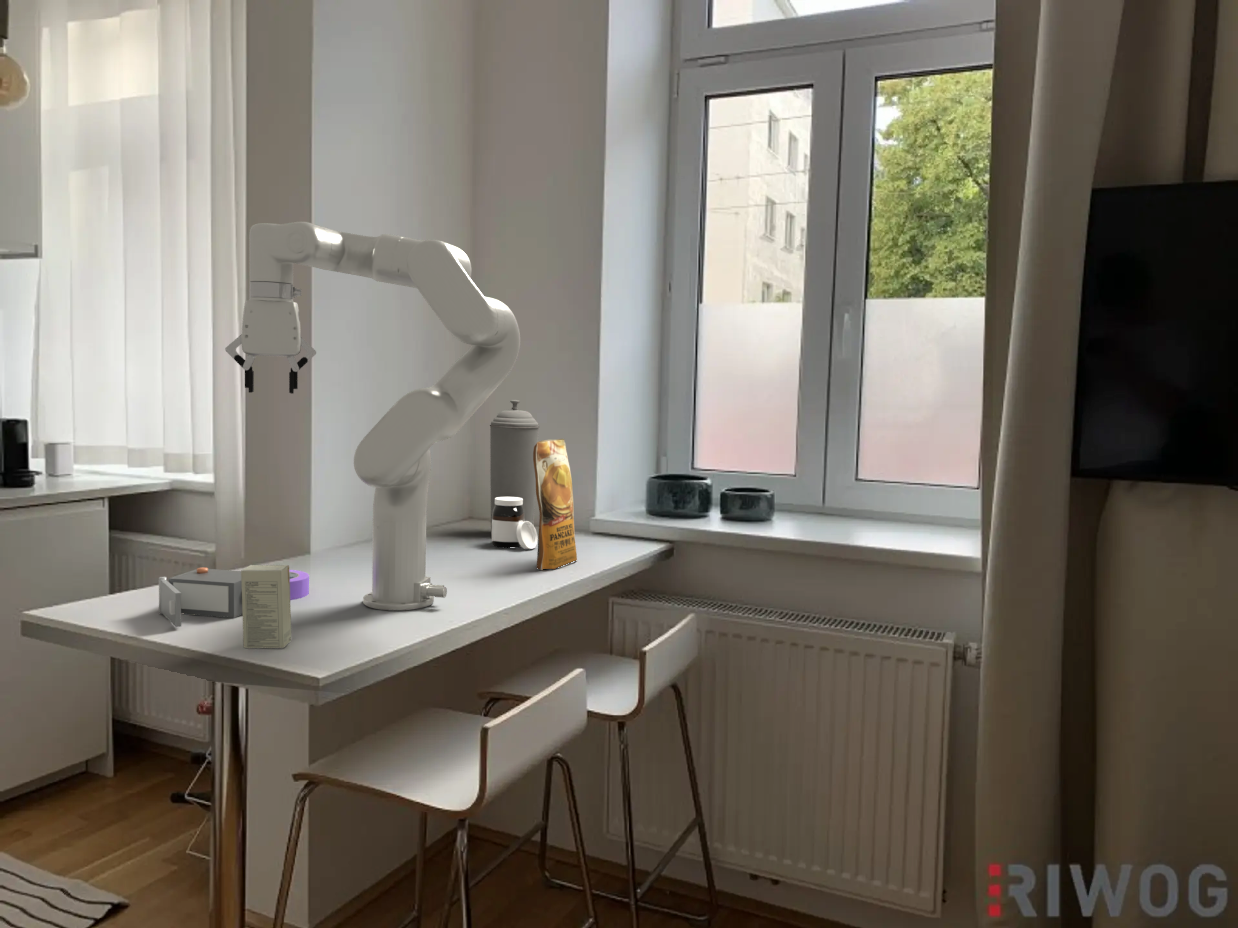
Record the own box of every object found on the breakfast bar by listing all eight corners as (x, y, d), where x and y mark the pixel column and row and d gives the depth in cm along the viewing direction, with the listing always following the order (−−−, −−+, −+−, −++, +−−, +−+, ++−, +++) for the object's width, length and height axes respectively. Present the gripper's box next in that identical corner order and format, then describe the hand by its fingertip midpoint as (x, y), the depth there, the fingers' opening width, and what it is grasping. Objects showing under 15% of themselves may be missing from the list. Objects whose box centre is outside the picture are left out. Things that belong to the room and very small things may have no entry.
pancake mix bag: (519, 569, 215) (522, 440, 212) (560, 555, 232) (563, 436, 229) (547, 573, 212) (550, 442, 209) (586, 559, 229) (590, 438, 227)
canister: (528, 540, 251) (532, 401, 248) (480, 537, 254) (483, 399, 250) (542, 532, 263) (545, 400, 260) (496, 529, 266) (499, 398, 263)
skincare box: (292, 641, 155) (292, 564, 154) (283, 649, 151) (283, 570, 150) (250, 640, 155) (250, 563, 154) (240, 648, 151) (240, 569, 149)
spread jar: (495, 541, 248) (496, 495, 247) (540, 543, 248) (541, 497, 247) (487, 550, 236) (488, 501, 235) (534, 552, 236) (535, 503, 235)
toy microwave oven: (268, 606, 176) (268, 569, 176) (240, 618, 167) (240, 579, 167) (199, 600, 178) (199, 564, 178) (168, 613, 169) (167, 574, 169)
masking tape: (317, 589, 191) (317, 570, 191) (296, 603, 180) (296, 583, 179) (257, 587, 192) (257, 567, 191) (232, 601, 180) (232, 580, 180)
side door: (182, 628, 160) (182, 590, 159) (171, 629, 159) (171, 591, 158) (166, 612, 169) (165, 576, 169) (155, 613, 169) (155, 577, 168)
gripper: (321, 297, 187) (320, 393, 188) (222, 292, 181) (222, 391, 183) (321, 295, 179) (320, 394, 181) (218, 290, 174) (218, 392, 176)
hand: (271, 391), depth 182 cm, fingers open, 6 cm apart
